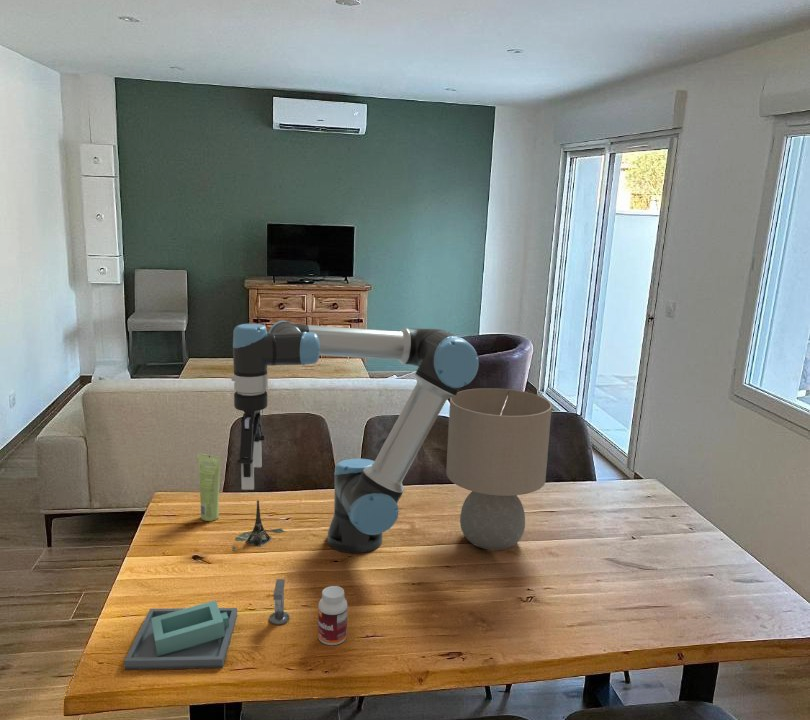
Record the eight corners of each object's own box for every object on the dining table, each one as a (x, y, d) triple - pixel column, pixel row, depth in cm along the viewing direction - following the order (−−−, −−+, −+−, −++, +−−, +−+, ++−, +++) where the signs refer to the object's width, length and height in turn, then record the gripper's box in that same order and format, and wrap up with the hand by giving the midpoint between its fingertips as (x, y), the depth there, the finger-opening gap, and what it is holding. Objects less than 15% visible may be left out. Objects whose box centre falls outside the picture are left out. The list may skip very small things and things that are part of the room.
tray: (237, 615, 156) (237, 607, 156) (222, 668, 139) (222, 659, 138) (150, 616, 155) (150, 608, 154) (124, 669, 137) (124, 660, 137)
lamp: (495, 576, 176) (505, 422, 167) (423, 537, 196) (429, 397, 187) (559, 545, 194) (572, 404, 185) (487, 512, 213) (496, 383, 204)
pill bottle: (311, 637, 149) (312, 591, 147) (332, 625, 154) (333, 580, 151) (332, 650, 145) (332, 603, 143) (352, 637, 150) (353, 591, 148)
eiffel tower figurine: (283, 529, 199) (282, 486, 196) (289, 546, 189) (289, 500, 186) (229, 536, 194) (228, 491, 191) (233, 553, 184) (232, 507, 181)
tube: (219, 512, 207) (217, 450, 202) (222, 519, 202) (220, 456, 198) (199, 515, 204) (197, 453, 200) (202, 523, 200) (200, 458, 195)
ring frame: (224, 612, 154) (222, 598, 153) (232, 634, 146) (230, 619, 145) (153, 632, 148) (151, 617, 147) (157, 656, 140) (155, 641, 139)
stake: (290, 610, 159) (290, 579, 157) (288, 627, 153) (287, 594, 151) (271, 611, 158) (270, 579, 157) (267, 627, 152) (267, 594, 150)
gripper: (242, 377, 173) (243, 458, 177) (224, 406, 148) (226, 499, 153) (273, 378, 173) (273, 458, 178) (260, 406, 149) (261, 499, 154)
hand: (252, 477), depth 165 cm, fingers open, 13 cm apart
